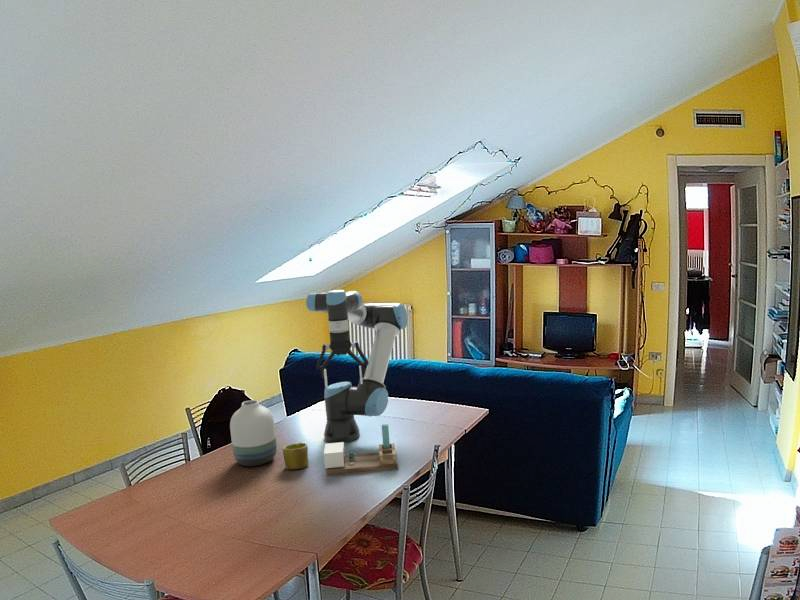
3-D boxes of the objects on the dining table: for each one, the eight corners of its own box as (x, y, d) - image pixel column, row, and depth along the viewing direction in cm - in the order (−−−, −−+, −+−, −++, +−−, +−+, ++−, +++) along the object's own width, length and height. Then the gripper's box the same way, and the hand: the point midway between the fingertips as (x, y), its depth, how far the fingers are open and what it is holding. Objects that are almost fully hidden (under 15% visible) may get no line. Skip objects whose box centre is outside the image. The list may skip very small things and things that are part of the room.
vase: (226, 463, 243) (219, 405, 240) (261, 449, 255) (255, 393, 252) (250, 473, 232) (243, 412, 228) (286, 458, 244) (280, 399, 241)
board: (329, 462, 237) (328, 448, 236) (396, 455, 238) (395, 442, 238) (327, 476, 224) (325, 461, 224) (398, 469, 225) (397, 455, 225)
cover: (326, 457, 235) (325, 443, 235) (345, 456, 236) (343, 442, 235) (325, 468, 225) (323, 453, 225) (344, 466, 226) (342, 451, 225)
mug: (306, 467, 228) (298, 441, 230) (283, 475, 231) (275, 449, 232) (319, 461, 240) (312, 436, 241) (297, 468, 242) (289, 444, 244)
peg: (383, 454, 235) (381, 424, 234) (390, 454, 235) (388, 423, 234) (384, 457, 233) (381, 426, 231) (390, 456, 233) (388, 426, 231)
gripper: (305, 335, 231) (310, 390, 234) (372, 329, 232) (376, 384, 235) (307, 331, 238) (312, 384, 241) (371, 326, 239) (376, 379, 242)
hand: (344, 384), depth 238 cm, fingers open, 13 cm apart
